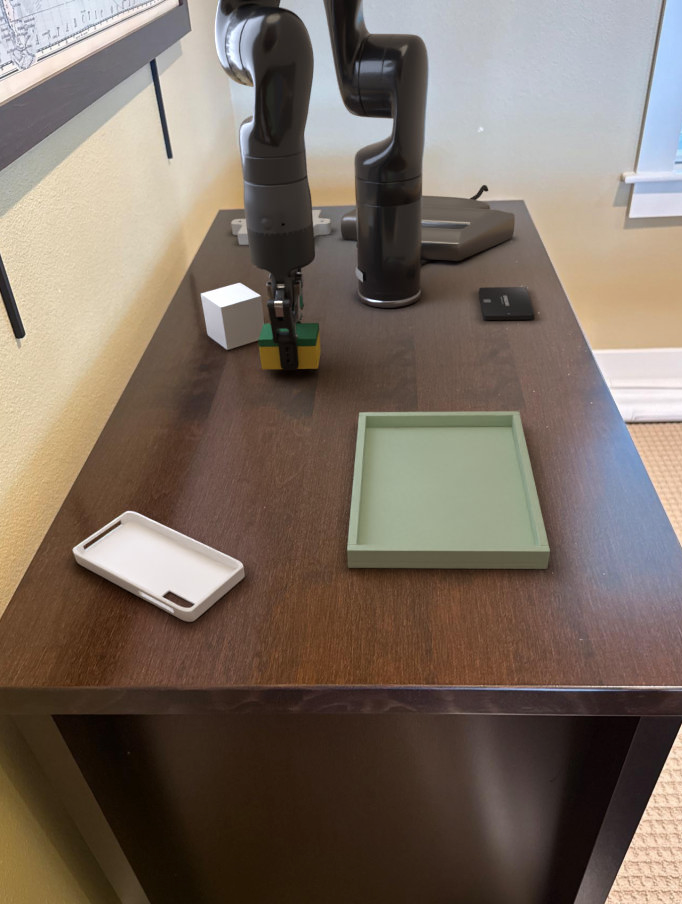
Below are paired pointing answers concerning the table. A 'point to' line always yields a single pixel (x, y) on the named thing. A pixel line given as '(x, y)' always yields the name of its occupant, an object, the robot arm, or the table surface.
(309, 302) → the table surface
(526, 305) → the solid state drive
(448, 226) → the grey contoured platform
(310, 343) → the sponge
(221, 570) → the phone case
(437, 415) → the tray
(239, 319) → the white cube
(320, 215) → the mounting plate
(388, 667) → the table surface
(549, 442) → the table surface
